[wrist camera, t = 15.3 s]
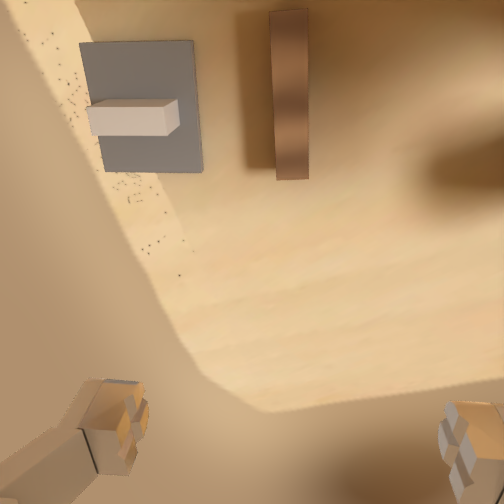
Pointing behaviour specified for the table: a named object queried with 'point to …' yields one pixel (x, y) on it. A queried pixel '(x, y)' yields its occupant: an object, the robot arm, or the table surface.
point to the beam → (290, 92)
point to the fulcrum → (144, 105)
